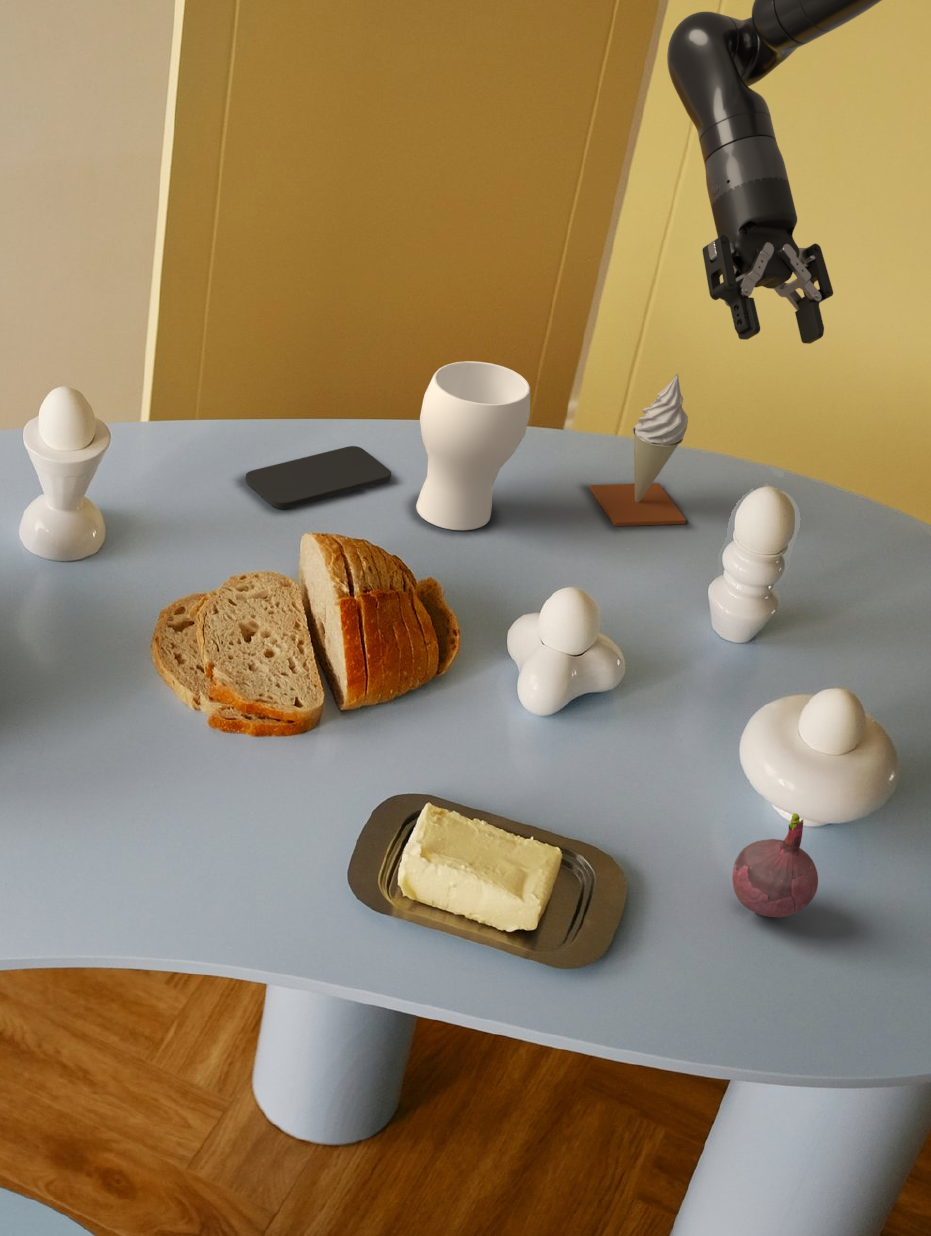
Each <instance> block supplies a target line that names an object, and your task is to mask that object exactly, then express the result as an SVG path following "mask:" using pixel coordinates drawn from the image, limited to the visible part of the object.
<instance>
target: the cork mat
mask: <svg viewBox="0 0 931 1236" xmlns="http://www.w3.org/2000/svg"><path fill="white" fill-rule="evenodd" d="M589 490H590V491H591V493H592V494H593V496H594V497H595V499H596V500H597V502H598V504H599V505H600V506H601V508H602V509H603V511H604V512H605V514H606V516H607V517H608V519H610V521H611V523H612V524H613V526H614V527H633V526H634V527H635V526H665V525H670V526H671V525H686V523H687V519H686V518H685V516H684V515H683V514H682V512H681V511H680V509H678V507H677V506H676V504H675V503H674V502H673V500H672V499H671V498H670V496H669V495H668V493H667V492H666V491H665V489H664V488H663V487H662V485H661V484H660V482H653V483H652V485H651V486H650V488H649V489H648V491H647V492H646V494H645V495H644V496H643V498H642V499H641V501H640V502H639V503H637V502H635V483H619V484H617V483H616V484H615V483H614V484H613V483H612V484H591V485H590V486H589Z"/></svg>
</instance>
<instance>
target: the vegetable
mask: <svg viewBox="0 0 931 1236" xmlns="http://www.w3.org/2000/svg"><path fill="white" fill-rule="evenodd" d="M800 819H801V817H800V815H799V814H798V813H796V812H794V813H792V815H791V819H790V824H788V830H787V831H788V833H787V835H786V837H785V838H784V839H775V838H769V839H761V840H757V841H754V842H751V843H750V844H747V845H746V846H745V847H743V849H741V850H740V852H739V853H738V855H737V857H736V859H735V861H734V864H733V868H732V878H731V879H732V887H733V889H734V890H733V891H734V893H735V896H736V897H737V899H738V901H739V903H740V904H742V905H743V907H745V908H747V909H748V910H749V911H751V912H753V913H754V914H755V915H756V914H757V915H759V916H761V917H762V916H764V917H770V918H784V917H789V916H792V915H794V914H796V913H798V912H800V911H801V910H804V909H805V908H806V907H807V906H808V905H809V904H810V903H811V902H812V901H813V899H814V897H816V894H817V892H818V887H819V875H818V870H817V867H816V864H815V862H814V860H813V859H812V858H811V856H810V855H809V854H808V852H807V851H805V850H803V849H802V848H801V844H802V839H803V838H802V837H803V831H804V818H803V819H801V820H800Z"/></svg>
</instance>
